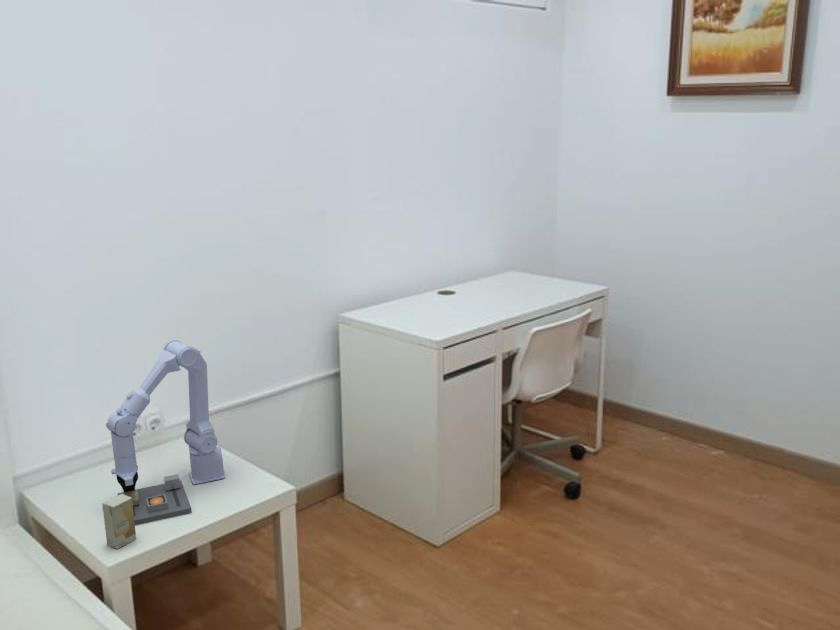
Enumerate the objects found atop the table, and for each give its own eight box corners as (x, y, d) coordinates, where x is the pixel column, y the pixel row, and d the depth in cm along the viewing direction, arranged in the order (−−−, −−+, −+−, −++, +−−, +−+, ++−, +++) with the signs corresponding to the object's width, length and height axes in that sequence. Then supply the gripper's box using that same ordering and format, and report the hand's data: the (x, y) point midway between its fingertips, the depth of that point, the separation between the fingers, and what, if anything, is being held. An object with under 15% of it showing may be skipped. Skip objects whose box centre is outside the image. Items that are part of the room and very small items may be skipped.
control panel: (181, 484, 235) (180, 474, 234) (191, 512, 219) (190, 501, 218) (118, 497, 228) (116, 487, 227) (123, 527, 212) (122, 516, 211)
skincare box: (117, 550, 202) (111, 507, 198) (106, 545, 204) (100, 503, 201) (137, 538, 207) (132, 496, 204) (127, 533, 209) (121, 492, 206)
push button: (163, 501, 222) (162, 496, 222) (164, 507, 219) (164, 501, 218) (149, 503, 221) (149, 498, 220) (151, 509, 217) (150, 504, 217)
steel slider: (178, 483, 232) (177, 473, 231) (180, 487, 229) (179, 478, 228) (164, 485, 230) (163, 476, 229) (166, 490, 228) (165, 481, 227)
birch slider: (138, 499, 223) (136, 489, 222) (139, 504, 220) (138, 494, 219) (123, 502, 221) (121, 492, 220) (124, 507, 219) (122, 497, 218)
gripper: (107, 446, 224) (113, 489, 228) (111, 467, 211) (117, 512, 215) (133, 441, 227) (138, 483, 231) (138, 462, 214) (144, 506, 218)
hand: (129, 497), depth 223 cm, fingers closed
